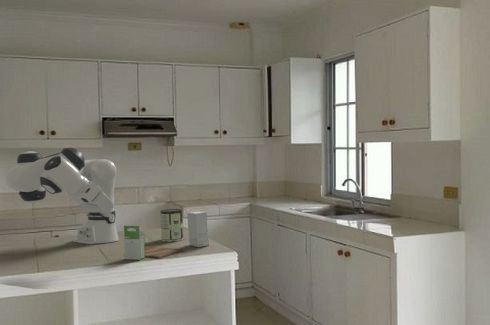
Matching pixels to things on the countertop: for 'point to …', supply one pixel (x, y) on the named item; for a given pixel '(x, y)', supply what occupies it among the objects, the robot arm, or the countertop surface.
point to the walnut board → (160, 252)
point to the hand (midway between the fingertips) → (108, 215)
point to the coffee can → (171, 225)
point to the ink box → (133, 244)
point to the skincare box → (198, 229)
